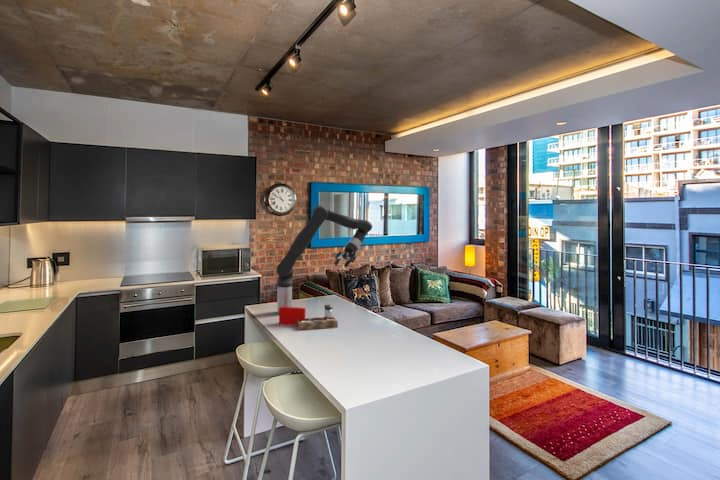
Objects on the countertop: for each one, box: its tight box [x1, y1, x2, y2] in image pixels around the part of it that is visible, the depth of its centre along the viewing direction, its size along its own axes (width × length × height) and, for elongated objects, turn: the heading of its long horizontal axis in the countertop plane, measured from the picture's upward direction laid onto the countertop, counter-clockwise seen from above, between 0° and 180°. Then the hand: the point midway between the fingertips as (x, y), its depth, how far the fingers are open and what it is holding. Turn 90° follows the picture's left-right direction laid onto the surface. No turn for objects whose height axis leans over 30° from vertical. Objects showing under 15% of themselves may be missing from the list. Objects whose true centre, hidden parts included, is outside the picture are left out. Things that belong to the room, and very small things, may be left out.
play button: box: [278, 306, 306, 326], centre depth 218 cm, size 15×3×10 cm, turn 81°
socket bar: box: [296, 315, 339, 331], centre depth 215 cm, size 22×10×4 cm, turn 109°
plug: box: [324, 304, 333, 320], centre depth 219 cm, size 5×5×11 cm
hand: (340, 265), depth 231 cm, fingers open, 8 cm apart
